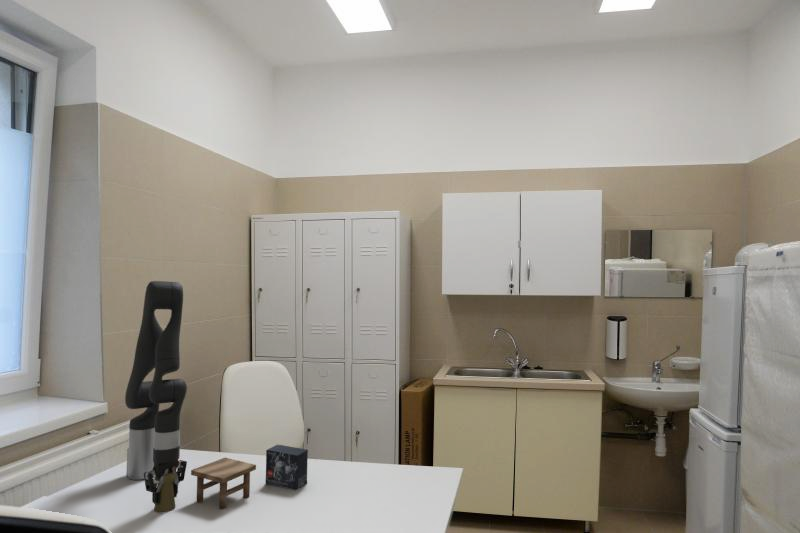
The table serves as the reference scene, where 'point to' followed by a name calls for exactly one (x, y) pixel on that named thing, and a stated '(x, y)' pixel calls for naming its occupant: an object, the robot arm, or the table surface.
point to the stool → (223, 478)
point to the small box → (286, 467)
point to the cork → (166, 495)
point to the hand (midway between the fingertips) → (165, 500)
